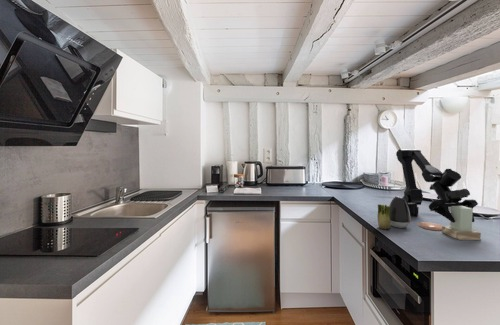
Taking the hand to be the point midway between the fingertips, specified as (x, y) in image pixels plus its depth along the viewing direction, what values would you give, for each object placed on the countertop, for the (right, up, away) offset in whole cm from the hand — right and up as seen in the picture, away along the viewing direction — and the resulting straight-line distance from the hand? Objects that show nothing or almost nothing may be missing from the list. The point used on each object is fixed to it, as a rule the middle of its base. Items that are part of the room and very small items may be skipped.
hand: (463, 222), depth 102 cm
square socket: (0, -7, +2) cm, 7 cm away
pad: (-4, -6, +14) cm, 15 cm away
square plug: (0, -7, +2) cm, 7 cm away
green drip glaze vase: (-28, -7, +13) cm, 31 cm away
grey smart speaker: (-19, -6, +16) cm, 25 cm away
